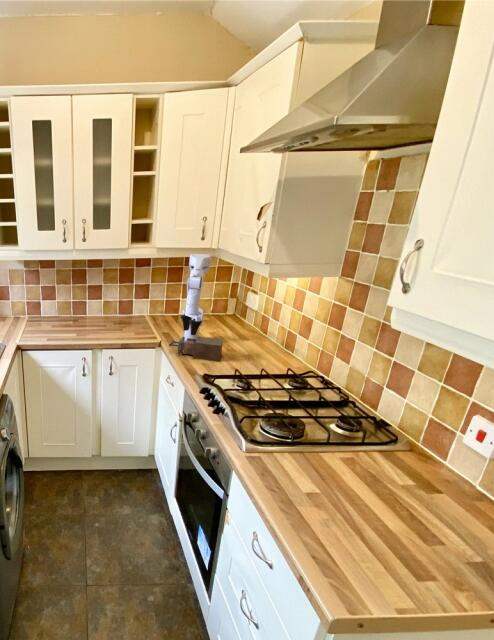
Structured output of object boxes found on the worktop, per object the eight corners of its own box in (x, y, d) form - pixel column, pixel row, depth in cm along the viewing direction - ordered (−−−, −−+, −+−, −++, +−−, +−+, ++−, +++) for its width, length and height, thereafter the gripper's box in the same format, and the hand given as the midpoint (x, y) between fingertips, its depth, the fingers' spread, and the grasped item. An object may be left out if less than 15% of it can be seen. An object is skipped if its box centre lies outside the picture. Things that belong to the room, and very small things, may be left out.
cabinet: (192, 358, 191) (194, 342, 188) (196, 351, 200) (198, 336, 197) (218, 361, 186) (220, 345, 183) (221, 354, 195) (223, 339, 192)
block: (182, 350, 195) (183, 342, 193) (185, 347, 198) (186, 340, 196) (190, 351, 193) (191, 343, 191) (193, 349, 196) (194, 341, 194)
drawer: (167, 352, 195) (168, 340, 193) (171, 346, 203) (172, 335, 201) (200, 356, 190) (201, 344, 187) (203, 350, 198) (204, 339, 195)
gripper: (208, 306, 181) (204, 336, 187) (193, 300, 194) (190, 327, 200) (193, 307, 180) (190, 337, 186) (179, 300, 193) (177, 328, 199)
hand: (189, 332), depth 193 cm, fingers open, 7 cm apart
